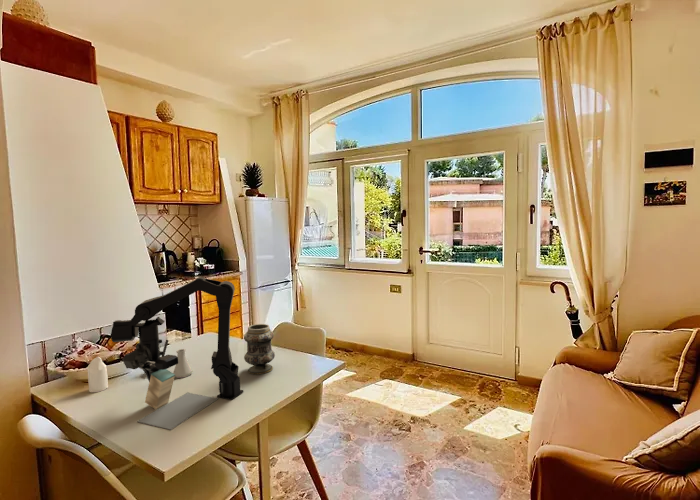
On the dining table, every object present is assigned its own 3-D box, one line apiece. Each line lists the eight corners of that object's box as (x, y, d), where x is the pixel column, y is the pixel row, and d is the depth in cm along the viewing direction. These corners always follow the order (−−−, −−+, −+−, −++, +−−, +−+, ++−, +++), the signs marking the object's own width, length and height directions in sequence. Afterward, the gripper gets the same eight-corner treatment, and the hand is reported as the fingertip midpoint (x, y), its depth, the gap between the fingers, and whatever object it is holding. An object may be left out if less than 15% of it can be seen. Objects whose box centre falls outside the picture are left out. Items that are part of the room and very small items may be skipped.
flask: (185, 379, 146) (183, 353, 145) (168, 378, 147) (166, 353, 146) (196, 371, 153) (194, 347, 152) (180, 370, 154) (178, 346, 153)
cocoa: (146, 377, 149) (142, 348, 147) (145, 371, 154) (142, 343, 152) (172, 371, 153) (169, 343, 151) (171, 365, 159) (168, 338, 157)
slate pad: (218, 399, 128) (217, 398, 128) (170, 430, 110) (170, 429, 110) (187, 393, 133) (187, 392, 133) (137, 421, 115) (137, 421, 115)
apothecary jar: (279, 364, 158) (277, 322, 157) (270, 376, 146) (268, 330, 145) (251, 363, 159) (249, 322, 158) (240, 375, 147) (237, 330, 146)
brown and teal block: (168, 402, 127) (175, 374, 124) (155, 409, 122) (162, 380, 120) (157, 395, 128) (164, 367, 126) (144, 402, 124) (151, 373, 121)
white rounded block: (83, 361, 134) (89, 355, 139) (86, 393, 135) (92, 387, 140) (103, 358, 136) (107, 353, 141) (105, 390, 137) (110, 384, 142)
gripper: (106, 343, 120) (110, 390, 121) (148, 349, 113) (152, 399, 114) (137, 333, 130) (140, 377, 132) (177, 338, 123) (181, 384, 125)
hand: (152, 384), depth 125 cm, fingers closed
